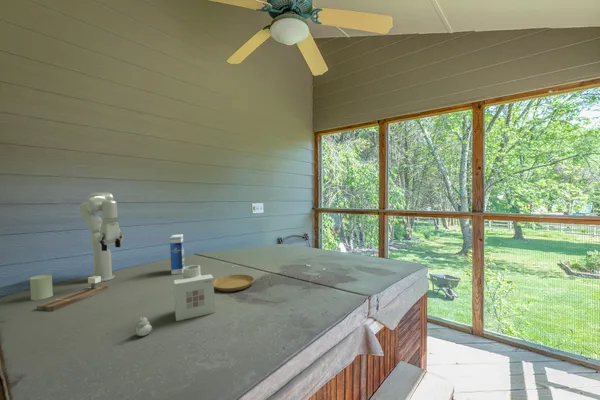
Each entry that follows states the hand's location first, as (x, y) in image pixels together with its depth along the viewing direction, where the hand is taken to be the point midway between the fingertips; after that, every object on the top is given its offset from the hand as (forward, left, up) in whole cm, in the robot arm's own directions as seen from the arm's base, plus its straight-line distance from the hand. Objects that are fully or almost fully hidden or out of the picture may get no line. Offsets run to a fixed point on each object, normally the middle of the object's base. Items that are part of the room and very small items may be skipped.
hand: (111, 248), depth 168 cm
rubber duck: (+64, -47, -23) cm, 83 cm away
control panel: (+70, -23, -23) cm, 78 cm away
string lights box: (+21, +33, -23) cm, 45 cm away
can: (-25, -21, -23) cm, 40 cm away
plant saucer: (+74, +11, -23) cm, 79 cm away
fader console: (-3, -20, -23) cm, 31 cm away
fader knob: (-3, -9, -20) cm, 23 cm away
